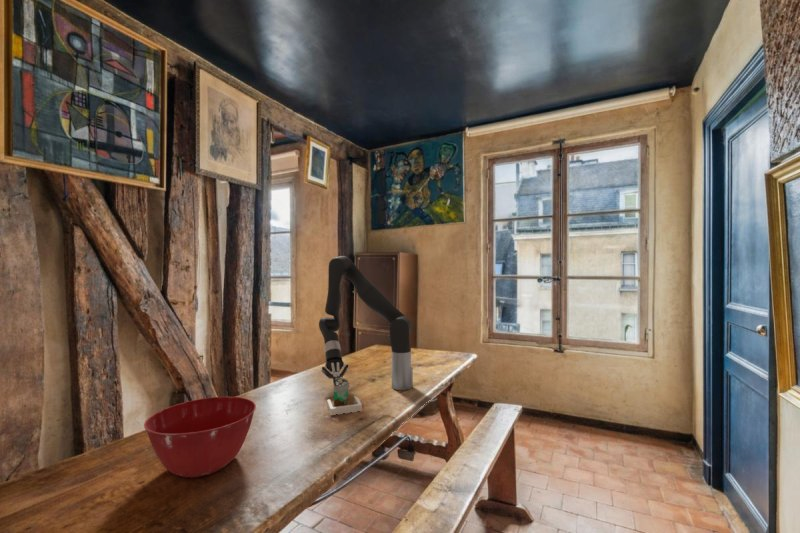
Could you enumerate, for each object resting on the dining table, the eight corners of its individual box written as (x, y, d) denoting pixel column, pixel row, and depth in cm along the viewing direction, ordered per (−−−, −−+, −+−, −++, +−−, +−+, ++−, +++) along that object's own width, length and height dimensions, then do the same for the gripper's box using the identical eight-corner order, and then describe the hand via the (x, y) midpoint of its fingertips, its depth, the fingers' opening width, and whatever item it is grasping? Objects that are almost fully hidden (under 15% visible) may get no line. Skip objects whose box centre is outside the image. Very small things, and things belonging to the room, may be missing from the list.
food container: (349, 411, 147) (349, 386, 147) (333, 412, 146) (333, 386, 146) (349, 400, 159) (349, 376, 159) (335, 400, 158) (335, 377, 158)
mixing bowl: (185, 441, 123) (185, 394, 123) (270, 441, 122) (270, 395, 122) (118, 494, 94) (117, 433, 94) (228, 495, 94) (227, 434, 93)
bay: (356, 401, 157) (356, 396, 157) (362, 411, 147) (362, 404, 147) (327, 405, 153) (327, 399, 153) (330, 415, 143) (330, 408, 143)
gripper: (319, 349, 173) (323, 383, 161) (347, 346, 177) (353, 380, 166) (318, 357, 178) (321, 391, 166) (345, 355, 182) (350, 388, 171)
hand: (337, 385), depth 166 cm, fingers closed
